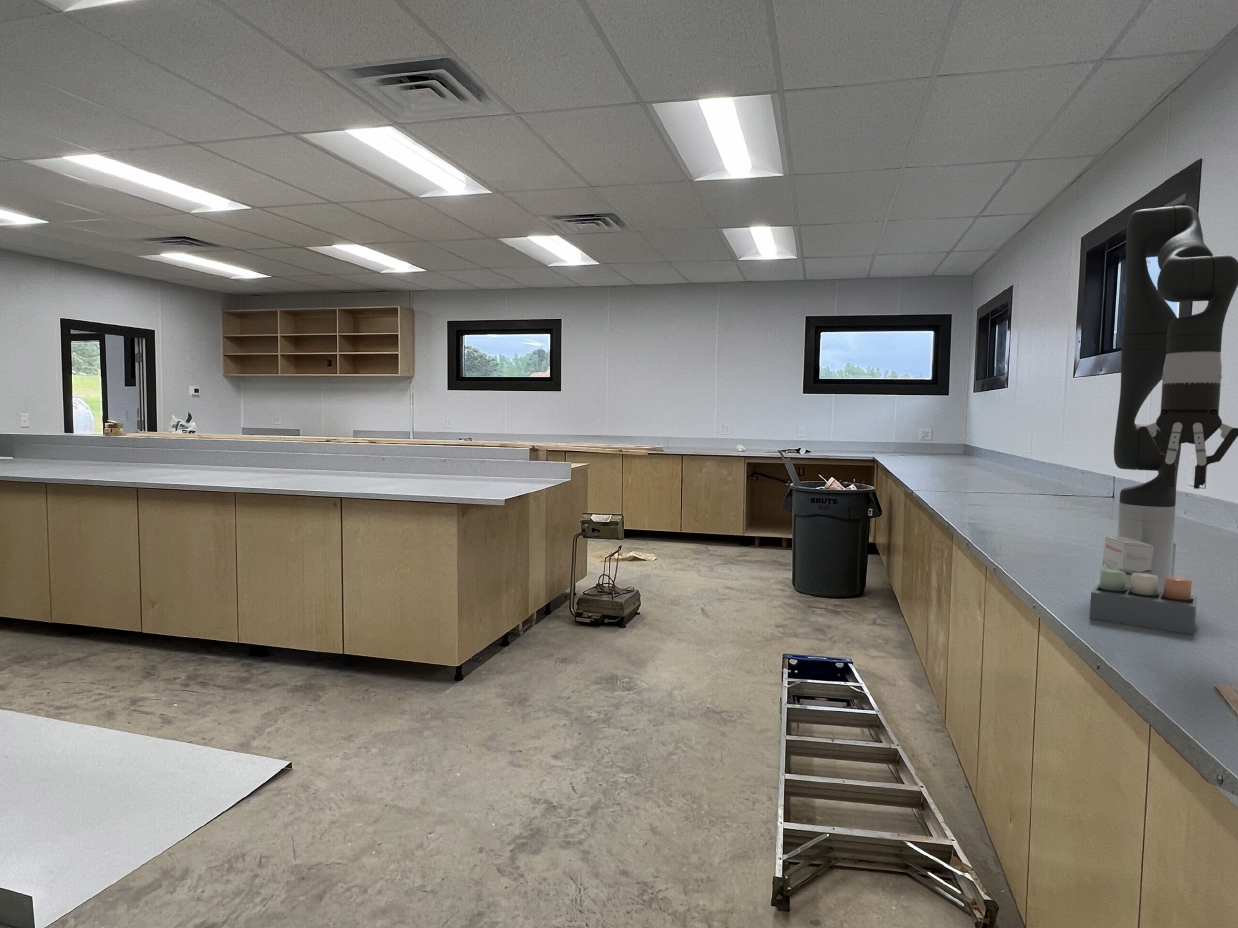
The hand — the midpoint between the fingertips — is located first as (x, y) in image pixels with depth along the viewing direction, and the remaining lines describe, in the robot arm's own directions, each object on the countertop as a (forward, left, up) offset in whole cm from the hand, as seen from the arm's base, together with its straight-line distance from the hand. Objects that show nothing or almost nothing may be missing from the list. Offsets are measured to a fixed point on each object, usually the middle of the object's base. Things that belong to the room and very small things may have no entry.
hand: (1184, 487), depth 120 cm
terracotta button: (0, 0, -18) cm, 18 cm away
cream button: (+2, -4, -18) cm, 19 cm away
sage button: (+5, -8, -18) cm, 20 cm away
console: (+2, -4, -23) cm, 24 cm away
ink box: (-6, -14, -23) cm, 28 cm away
